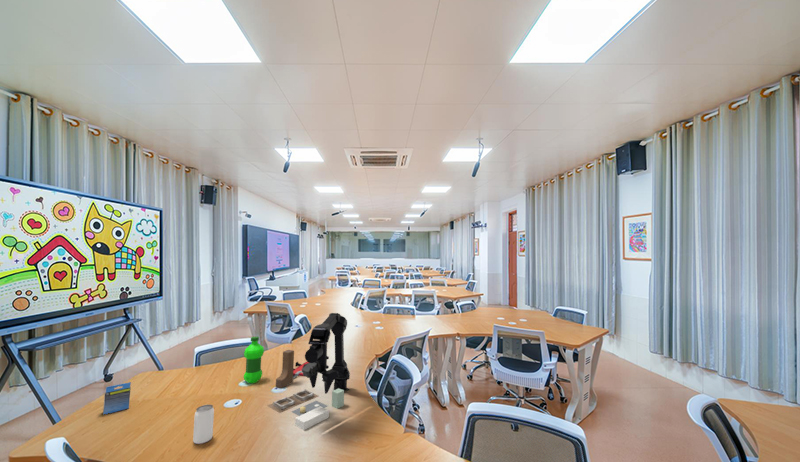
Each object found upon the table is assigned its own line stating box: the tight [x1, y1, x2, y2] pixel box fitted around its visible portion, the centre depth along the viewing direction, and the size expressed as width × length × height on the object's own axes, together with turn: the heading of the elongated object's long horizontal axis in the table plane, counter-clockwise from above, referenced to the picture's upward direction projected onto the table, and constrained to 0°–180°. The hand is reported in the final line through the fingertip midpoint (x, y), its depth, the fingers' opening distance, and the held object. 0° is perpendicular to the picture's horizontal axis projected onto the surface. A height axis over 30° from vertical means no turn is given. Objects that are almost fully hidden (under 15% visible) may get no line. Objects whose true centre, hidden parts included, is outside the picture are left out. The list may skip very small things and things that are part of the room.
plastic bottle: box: [243, 336, 265, 385], centre depth 178 cm, size 10×10×25 cm
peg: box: [331, 388, 345, 410], centre depth 148 cm, size 4×4×8 cm
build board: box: [267, 389, 319, 414], centre depth 152 cm, size 22×11×2 cm, turn 142°
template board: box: [291, 400, 328, 417], centre depth 144 cm, size 14×9×3 cm, turn 142°
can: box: [192, 404, 215, 445], centre depth 122 cm, size 6×6×12 cm
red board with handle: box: [293, 361, 309, 380], centre depth 194 cm, size 30×3×15 cm
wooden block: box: [275, 349, 295, 389], centre depth 174 cm, size 9×4×18 cm, turn 157°
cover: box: [294, 406, 330, 431], centre depth 134 cm, size 13×6×4 cm, turn 142°
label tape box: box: [102, 381, 132, 415], centre depth 144 cm, size 9×4×12 cm, turn 135°
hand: (319, 390), depth 138 cm, fingers open, 9 cm apart
